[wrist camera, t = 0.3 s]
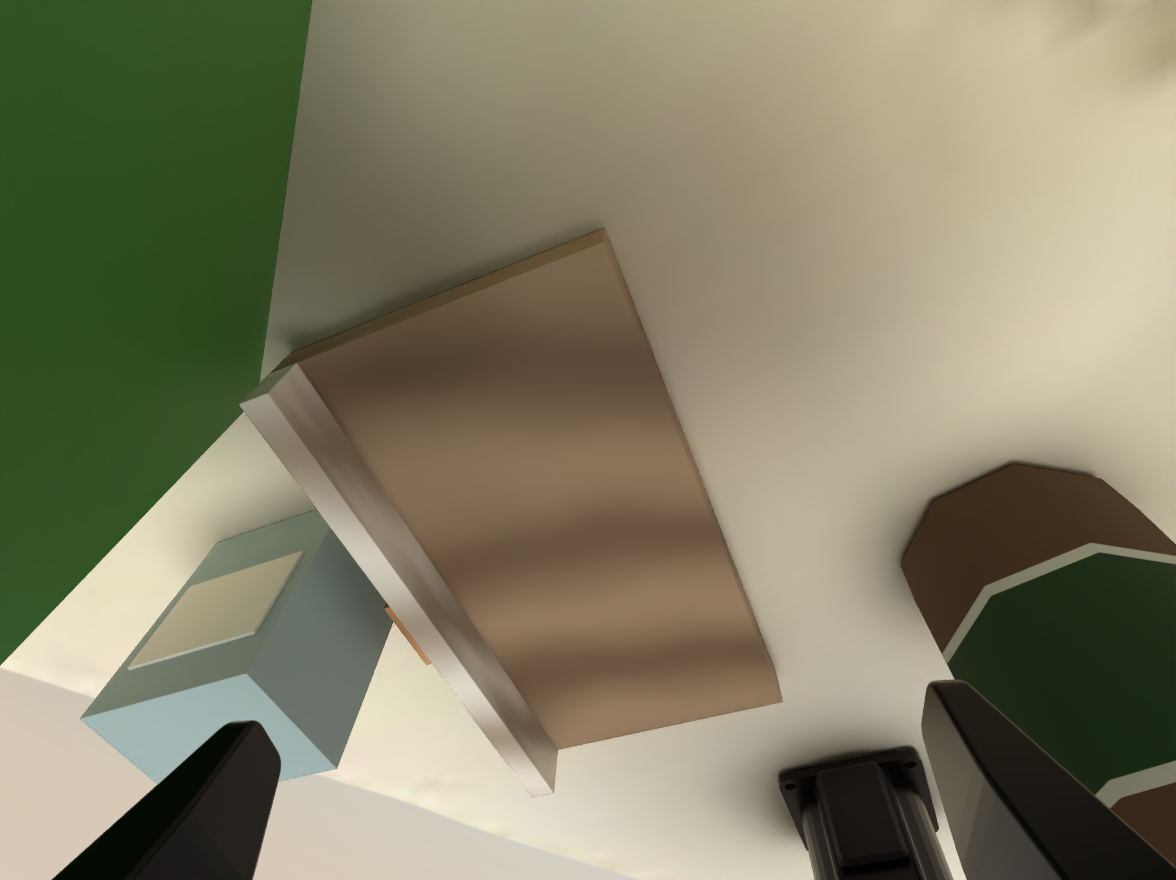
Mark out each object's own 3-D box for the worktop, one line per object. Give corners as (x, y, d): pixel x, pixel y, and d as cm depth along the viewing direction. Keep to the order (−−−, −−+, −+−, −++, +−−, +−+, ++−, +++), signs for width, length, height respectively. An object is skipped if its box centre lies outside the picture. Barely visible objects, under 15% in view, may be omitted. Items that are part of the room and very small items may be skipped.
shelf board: (775, 672, 29) (792, 746, 26) (532, 726, 32) (523, 799, 29) (604, 227, 20) (600, 264, 17) (280, 357, 22) (227, 408, 19)
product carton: (408, 584, 28) (337, 768, 21) (285, 619, 29) (180, 804, 22) (345, 496, 25) (243, 671, 19) (216, 539, 27) (77, 716, 20)
